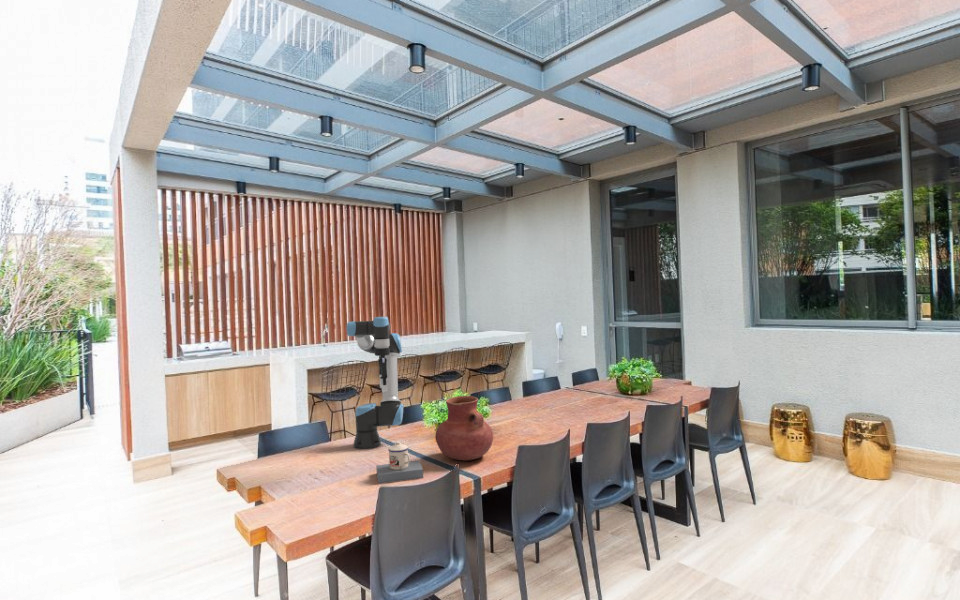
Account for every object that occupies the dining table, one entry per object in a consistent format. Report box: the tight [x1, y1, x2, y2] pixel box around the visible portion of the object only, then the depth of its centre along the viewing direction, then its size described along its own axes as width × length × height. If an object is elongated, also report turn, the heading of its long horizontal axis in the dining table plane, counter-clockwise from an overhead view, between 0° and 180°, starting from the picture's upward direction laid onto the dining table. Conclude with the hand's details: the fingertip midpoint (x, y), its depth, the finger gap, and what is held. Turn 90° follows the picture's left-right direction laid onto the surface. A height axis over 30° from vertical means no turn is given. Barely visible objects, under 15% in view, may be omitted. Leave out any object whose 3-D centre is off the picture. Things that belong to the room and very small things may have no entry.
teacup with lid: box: [387, 441, 411, 470], centre depth 231 cm, size 12×9×12 cm
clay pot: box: [435, 395, 494, 461], centre depth 255 cm, size 30×29×30 cm
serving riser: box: [375, 459, 424, 485], centre depth 231 cm, size 14×20×4 cm
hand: (383, 389), depth 253 cm, fingers open, 13 cm apart
